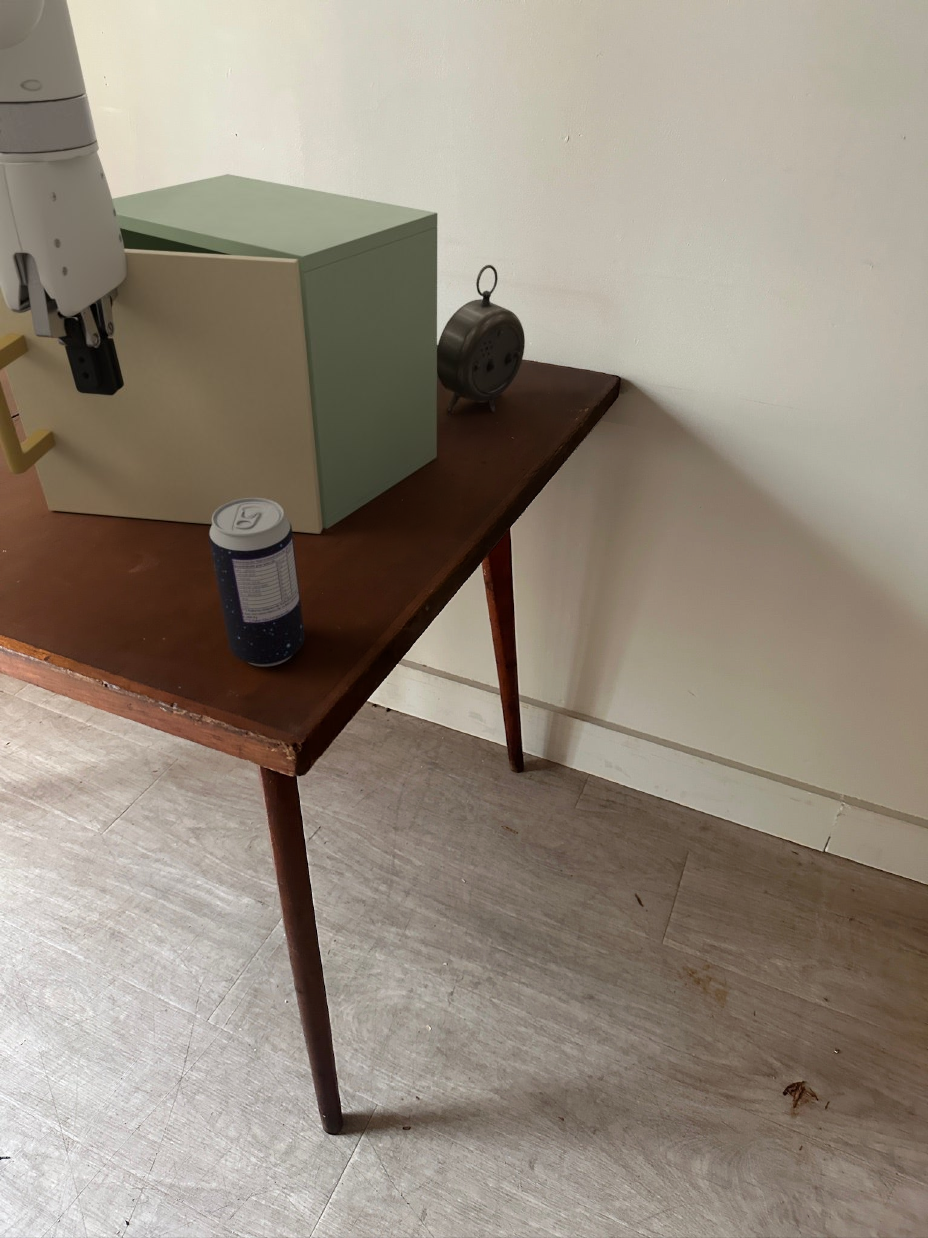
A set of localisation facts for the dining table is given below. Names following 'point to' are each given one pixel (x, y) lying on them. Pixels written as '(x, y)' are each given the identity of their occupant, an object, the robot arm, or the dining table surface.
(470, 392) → the alarm clock
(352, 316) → the cupboard
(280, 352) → the cupboard door
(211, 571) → the dining table surface
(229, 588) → the beverage can
